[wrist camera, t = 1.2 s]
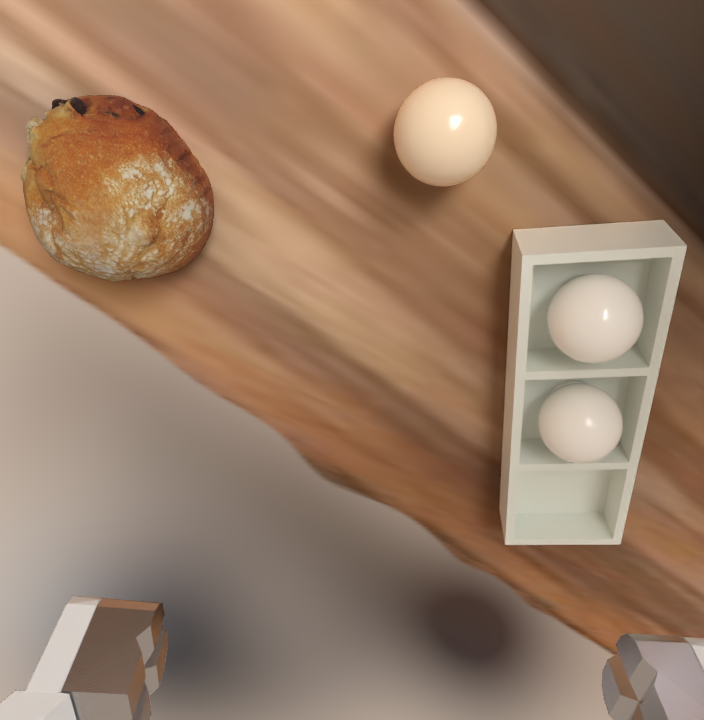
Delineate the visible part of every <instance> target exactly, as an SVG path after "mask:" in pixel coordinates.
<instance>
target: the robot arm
mask: <svg viewBox="0 0 704 720" xmlns="http://www.w3.org/2000/svg"><path fill="white" fill-rule="evenodd" d="M164 615H165V613H164V608H163V603H158V602H146V601H133V600H119V599H107V598H98V597H83V596H73V597H72V598H71V599H70V600H69V602H68V603H67V604H66V605H65V607H64V609H63V611H62V613H61V615H60V618H59V620H58V622H57V624H56V626H55V628H54V630H53V632H52V634H51V636H50V638H49V641H48V643H47V645H46V647H45V649H44V651H43V653H42V655H41V658H40V659H39V662H38V664H37V666H36V668H35V670H34V672H33V674H32V676H31V678H30V681H29V683H28V685H27V687H26V689H25V690H15V691H14V692H13V693H11V694H10V695H9V696H8V697H7V698H5V699H4V700H3V701H2V702H1V703H0V720H150V717H151V706H150V699H149V696H150V695H151V694H152V693H153V692H154V691H155V690H156V689H157V688H158V687H159V686H160V682H161V678H162V675H163V671H164V666H165V660H166V654H167V630H166V629H164V628H163V627H162V626H161V625H162V622H163V619H164ZM616 646H617V649H618V652H619V653H618V654H617V655H615V656H613V657H611V658H610V659H608V660H607V662H606V665H605V667H604V669H603V673H602V690H603V696H604V700H605V704H606V707H607V710H608V713H609V715H610V716H611V717H612V718H613V720H704V638H692V637H679V636H670V635H649V634H629V633H627V634H624V635H622V636H620V638H619V640H618V642H617V643H616Z"/></svg>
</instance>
